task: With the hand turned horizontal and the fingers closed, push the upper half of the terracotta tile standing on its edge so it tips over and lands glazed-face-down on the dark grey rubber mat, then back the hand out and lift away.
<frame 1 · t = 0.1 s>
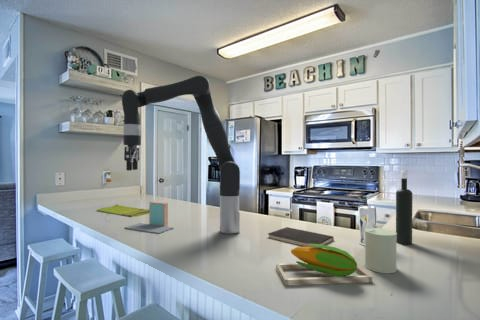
hand: (132, 170, 123), 29 cm above the counter, tool pointing down, fingers open, 8 cm apart
corn rest: (321, 274, 80), on the counter
tile: (158, 225, 138), on the counter
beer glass: (366, 244, 109), on the counter
can: (380, 268, 85), on the counter
corn: (320, 270, 81), point 1 cm above the counter, touching corn rest
hardcover book: (300, 240, 116), on the counter
mat: (148, 228, 132), on the counter
dish towel: (123, 213, 173), on the counter
wine bottle: (403, 243, 111), on the counter
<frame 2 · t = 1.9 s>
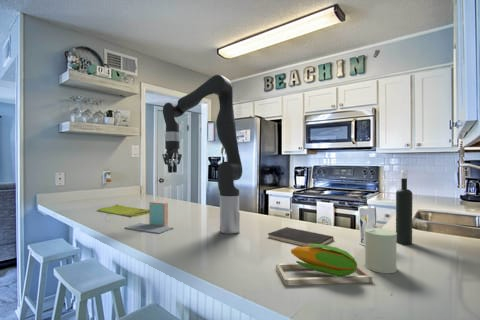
hand: (172, 172, 145), 27 cm above the counter, tool pointing down, fingers open, 3 cm apart
nothing on the counter moved.
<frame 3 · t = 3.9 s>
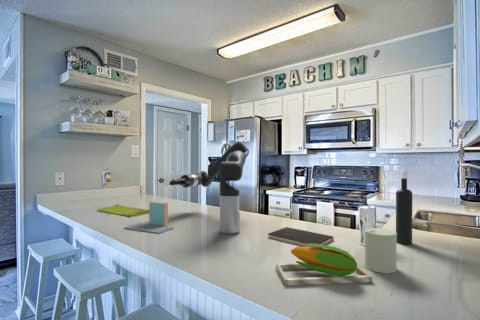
hand: (170, 183, 147), 21 cm above the counter, tool horizontal, fingers closed
nothing on the counter moved.
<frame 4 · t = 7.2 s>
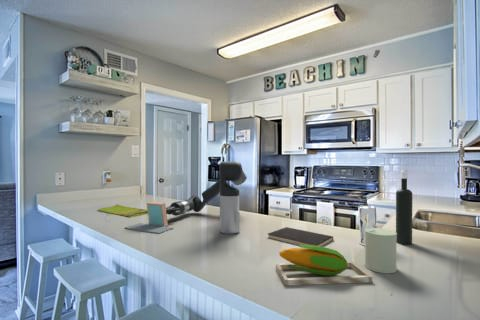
hand: (159, 213, 139), 6 cm above the counter, tool horizontal, fingers closed
tile: (158, 225, 138), on the counter, tilted 9°
corn: (311, 270, 81), point 1 cm above the counter, touching corn rest
everything else where it was.
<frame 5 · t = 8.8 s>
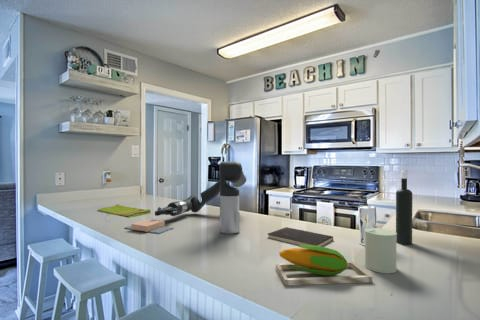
hand: (155, 213, 136), 7 cm above the counter, tool horizontal, fingers closed
tile: (157, 222, 137), point 2 cm above the counter, tilted 90°, touching mat
everything else where it was.
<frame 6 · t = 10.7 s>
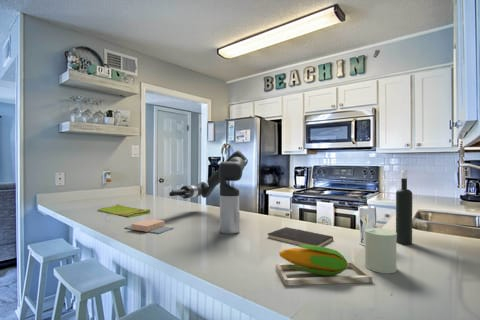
hand: (170, 194, 147), 15 cm above the counter, tool horizontal, fingers closed
nothing on the counter moved.
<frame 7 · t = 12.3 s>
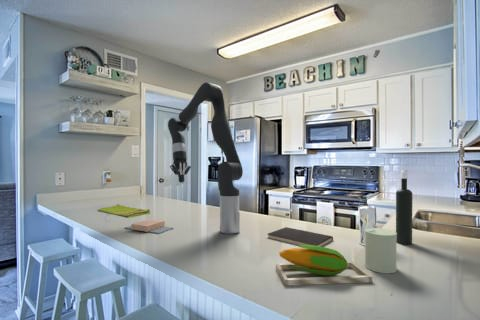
hand: (181, 182, 147), 22 cm above the counter, tool tilted 15°, fingers closed
nothing on the counter moved.
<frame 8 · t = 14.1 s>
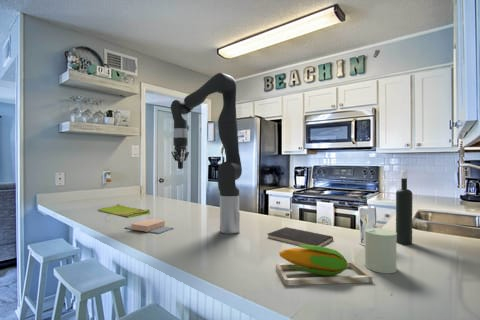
hand: (180, 168, 147), 29 cm above the counter, tool pointing down, fingers closed
at the end: tile tilted 90°; tile inside the target area (5.5 cm from its centre), point 1.9 cm above the counter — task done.
